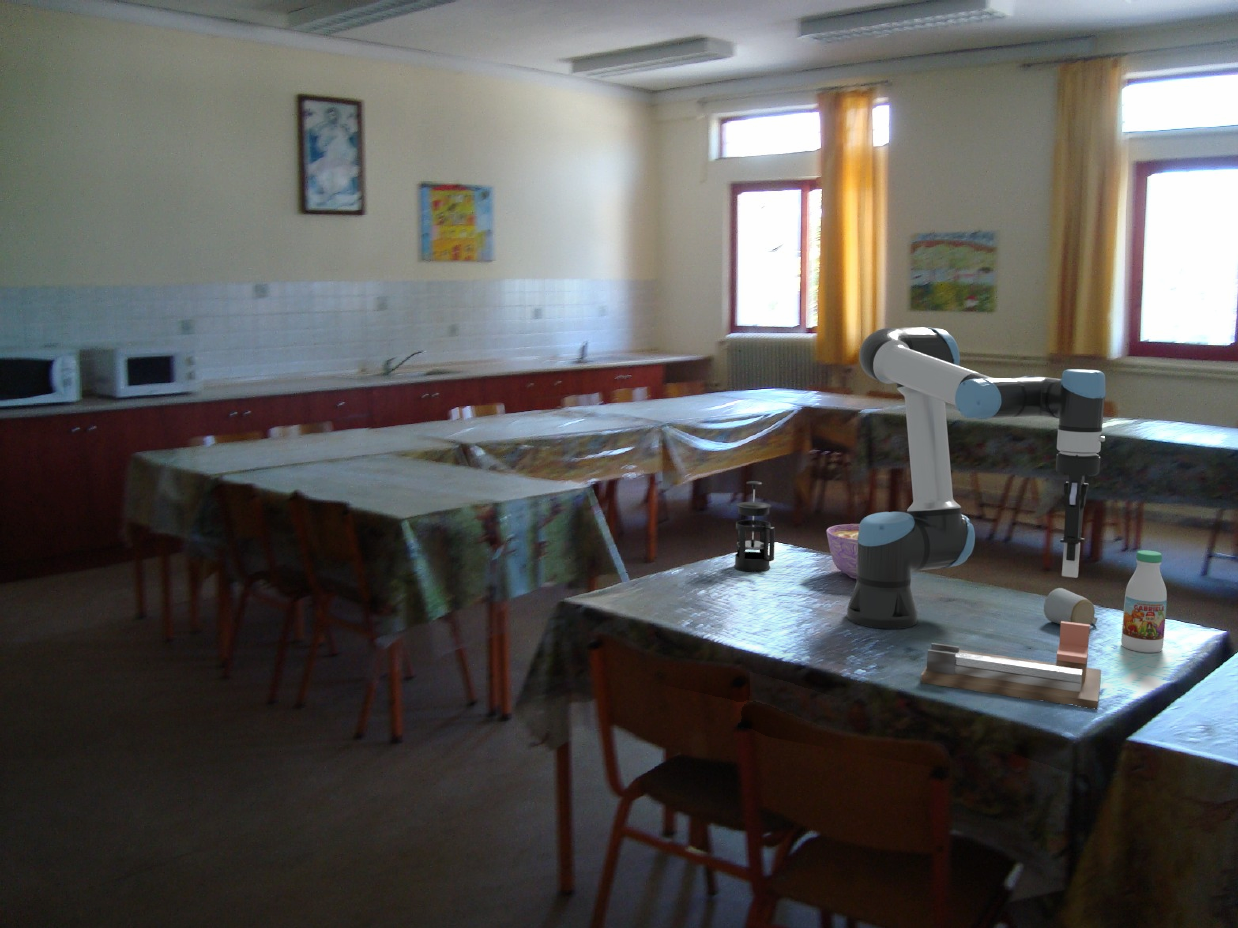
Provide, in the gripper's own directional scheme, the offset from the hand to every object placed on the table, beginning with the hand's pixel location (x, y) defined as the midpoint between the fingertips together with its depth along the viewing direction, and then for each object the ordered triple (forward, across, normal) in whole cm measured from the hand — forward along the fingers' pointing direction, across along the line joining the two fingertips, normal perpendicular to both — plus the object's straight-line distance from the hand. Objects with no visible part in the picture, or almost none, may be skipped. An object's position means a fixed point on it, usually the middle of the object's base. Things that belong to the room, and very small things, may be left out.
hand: (1069, 575), depth 206 cm
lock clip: (+14, -7, -2) cm, 15 cm away
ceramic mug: (+19, +32, +1) cm, 37 cm away
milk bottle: (+19, +22, -13) cm, 31 cm away
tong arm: (+15, -15, +8) cm, 23 cm away
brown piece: (+18, -11, +8) cm, 23 cm away
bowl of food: (+19, +51, +52) cm, 76 cm away
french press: (+19, +45, +80) cm, 94 cm away
